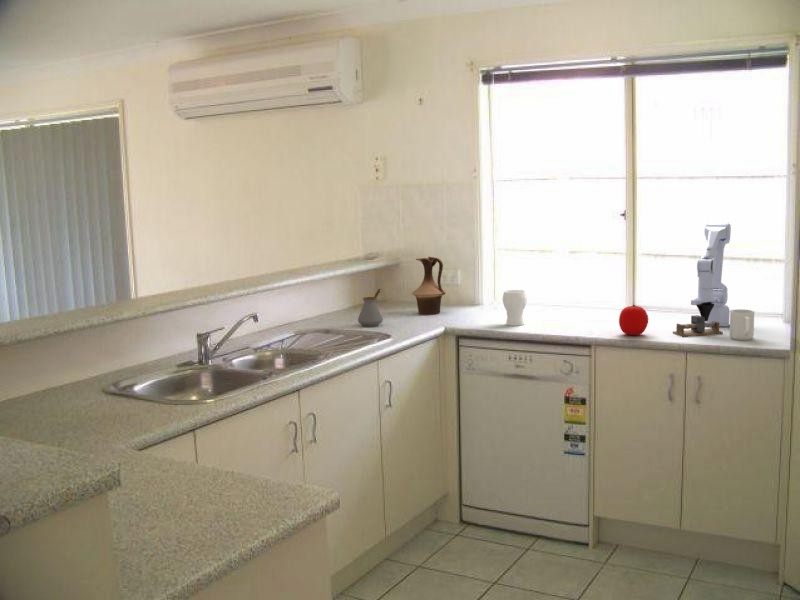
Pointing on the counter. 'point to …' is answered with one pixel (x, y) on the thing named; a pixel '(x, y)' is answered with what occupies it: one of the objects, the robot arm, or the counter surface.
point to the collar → (698, 323)
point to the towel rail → (687, 333)
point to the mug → (741, 324)
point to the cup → (514, 306)
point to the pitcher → (429, 288)
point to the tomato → (633, 320)
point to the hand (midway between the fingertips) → (704, 320)
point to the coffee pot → (370, 312)
